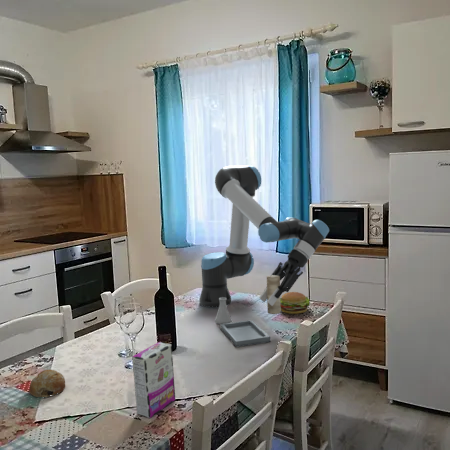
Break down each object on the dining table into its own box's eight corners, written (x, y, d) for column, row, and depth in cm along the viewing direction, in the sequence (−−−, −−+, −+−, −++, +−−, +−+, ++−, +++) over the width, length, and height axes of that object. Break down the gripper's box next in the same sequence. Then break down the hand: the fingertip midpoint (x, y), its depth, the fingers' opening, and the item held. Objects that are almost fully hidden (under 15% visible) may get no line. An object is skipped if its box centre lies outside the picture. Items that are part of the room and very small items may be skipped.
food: (277, 315, 201) (277, 297, 200) (279, 305, 214) (278, 288, 213) (310, 316, 198) (310, 297, 197) (309, 306, 212) (309, 289, 211)
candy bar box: (162, 396, 134) (158, 341, 132) (176, 400, 131) (173, 344, 129) (135, 414, 124) (131, 355, 122) (149, 419, 122) (145, 359, 120)
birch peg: (265, 311, 183) (264, 276, 181) (277, 309, 184) (276, 274, 182) (270, 315, 178) (269, 279, 176) (282, 313, 179) (281, 277, 177)
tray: (220, 328, 187) (220, 324, 186) (251, 324, 190) (251, 319, 190) (236, 347, 168) (236, 341, 167) (270, 341, 171) (270, 336, 171)
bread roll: (32, 411, 136) (31, 392, 132) (27, 384, 143) (26, 365, 139) (67, 401, 140) (67, 383, 136) (61, 376, 148) (61, 358, 144)
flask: (230, 325, 191) (229, 301, 190) (213, 324, 192) (212, 300, 191) (233, 319, 198) (232, 296, 197) (216, 318, 199) (216, 295, 198)
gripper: (320, 264, 177) (284, 313, 172) (293, 256, 193) (259, 301, 188) (309, 252, 174) (272, 302, 169) (282, 245, 190) (247, 290, 185)
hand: (265, 301), depth 179 cm, fingers closed on birch peg, 5 cm apart
